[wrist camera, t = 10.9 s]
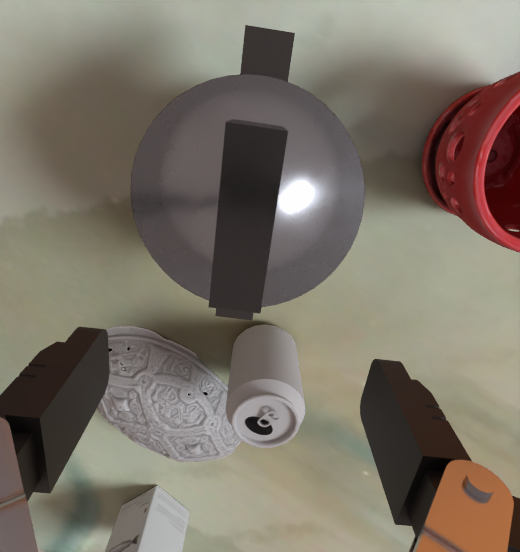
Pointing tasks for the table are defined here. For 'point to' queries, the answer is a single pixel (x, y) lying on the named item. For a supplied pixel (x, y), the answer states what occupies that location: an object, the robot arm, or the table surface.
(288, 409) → the can
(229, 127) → the lid
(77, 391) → the robot arm
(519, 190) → the plant pot
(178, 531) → the supplement box
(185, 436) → the grey oval domed piece
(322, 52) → the table surface
